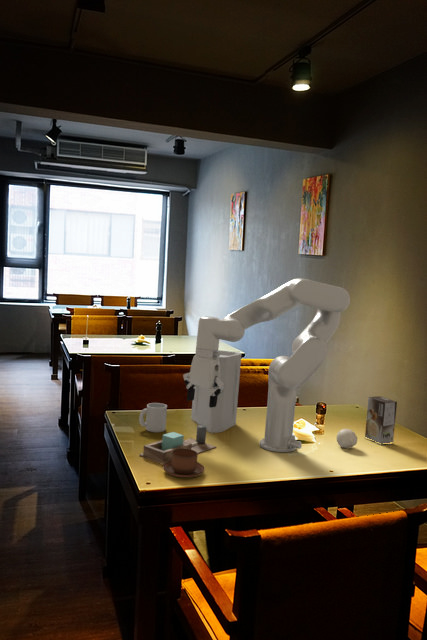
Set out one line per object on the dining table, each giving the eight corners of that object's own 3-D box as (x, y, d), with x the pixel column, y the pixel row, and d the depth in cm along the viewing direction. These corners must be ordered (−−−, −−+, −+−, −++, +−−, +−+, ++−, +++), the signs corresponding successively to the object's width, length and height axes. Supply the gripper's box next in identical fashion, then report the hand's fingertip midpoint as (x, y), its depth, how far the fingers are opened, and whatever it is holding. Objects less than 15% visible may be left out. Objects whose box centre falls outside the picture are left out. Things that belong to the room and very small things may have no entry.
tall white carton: (245, 430, 204) (251, 357, 202) (209, 432, 198) (215, 357, 196) (224, 416, 222) (229, 349, 219) (190, 418, 216) (195, 348, 213)
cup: (168, 431, 196) (169, 407, 195) (141, 433, 191) (142, 408, 191) (161, 426, 202) (163, 402, 201) (135, 427, 198) (137, 403, 197)
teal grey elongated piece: (198, 439, 187) (199, 424, 186) (208, 443, 184) (209, 427, 184) (161, 451, 172) (162, 434, 172) (172, 455, 169) (173, 438, 169)
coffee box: (393, 444, 201) (398, 401, 200) (381, 445, 198) (385, 402, 197) (376, 436, 209) (380, 395, 208) (363, 437, 207) (367, 396, 205)
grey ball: (350, 452, 188) (352, 433, 187) (332, 446, 193) (334, 428, 192) (360, 448, 193) (362, 430, 192) (342, 443, 198) (343, 425, 197)
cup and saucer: (154, 471, 157) (155, 450, 157) (185, 463, 166) (186, 443, 165) (181, 484, 149) (183, 463, 148) (212, 475, 157) (214, 455, 157)
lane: (190, 439, 189) (191, 429, 189) (216, 447, 182) (216, 437, 182) (139, 455, 169) (140, 444, 169) (165, 465, 162) (166, 454, 162)
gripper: (234, 357, 179) (228, 408, 181) (193, 348, 190) (188, 396, 191) (220, 358, 173) (214, 411, 175) (179, 349, 184) (174, 399, 185)
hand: (201, 403), depth 183 cm, fingers open, 9 cm apart
